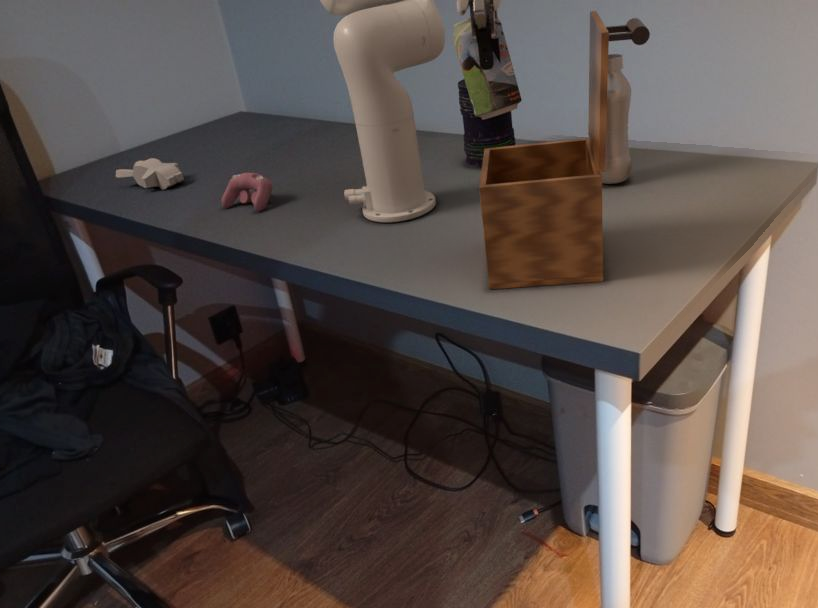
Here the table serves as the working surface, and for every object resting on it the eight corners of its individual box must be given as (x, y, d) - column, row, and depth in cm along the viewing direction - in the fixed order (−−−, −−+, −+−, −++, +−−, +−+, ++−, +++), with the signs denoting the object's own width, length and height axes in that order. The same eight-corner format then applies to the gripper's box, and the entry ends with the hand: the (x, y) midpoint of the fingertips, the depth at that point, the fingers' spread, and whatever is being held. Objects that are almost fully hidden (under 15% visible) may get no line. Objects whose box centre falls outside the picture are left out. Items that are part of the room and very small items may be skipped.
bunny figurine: (156, 176, 149) (106, 164, 156) (162, 199, 152) (113, 186, 159) (190, 160, 156) (141, 150, 162) (195, 183, 159) (147, 172, 165)
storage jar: (472, 152, 147) (464, 75, 140) (520, 150, 145) (515, 71, 137) (460, 169, 140) (451, 88, 132) (511, 167, 137) (504, 84, 129)
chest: (489, 289, 96) (479, 187, 89) (493, 241, 109) (484, 148, 102) (603, 281, 94) (601, 176, 87) (593, 232, 107) (591, 137, 100)
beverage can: (516, 117, 88) (502, 8, 83) (459, 125, 91) (442, 20, 86) (528, 109, 93) (516, 7, 88) (473, 117, 96) (458, 18, 91)
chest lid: (601, 32, 78) (657, 27, 78) (589, 11, 91) (637, 6, 91) (598, 172, 86) (649, 169, 86) (588, 134, 100) (632, 131, 99)
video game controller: (274, 213, 137) (277, 175, 136) (257, 211, 133) (260, 172, 132) (236, 209, 142) (239, 172, 141) (218, 207, 138) (221, 169, 137)
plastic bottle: (603, 191, 120) (601, 63, 110) (585, 179, 126) (581, 57, 116) (639, 182, 121) (640, 55, 111) (619, 171, 127) (619, 49, 117)
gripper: (447, -96, 89) (465, 60, 99) (430, -94, 75) (453, 89, 84) (509, -107, 88) (521, 53, 97) (504, -106, 74) (518, 81, 83)
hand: (489, 68), depth 91 cm, fingers closed on beverage can, 5 cm apart
